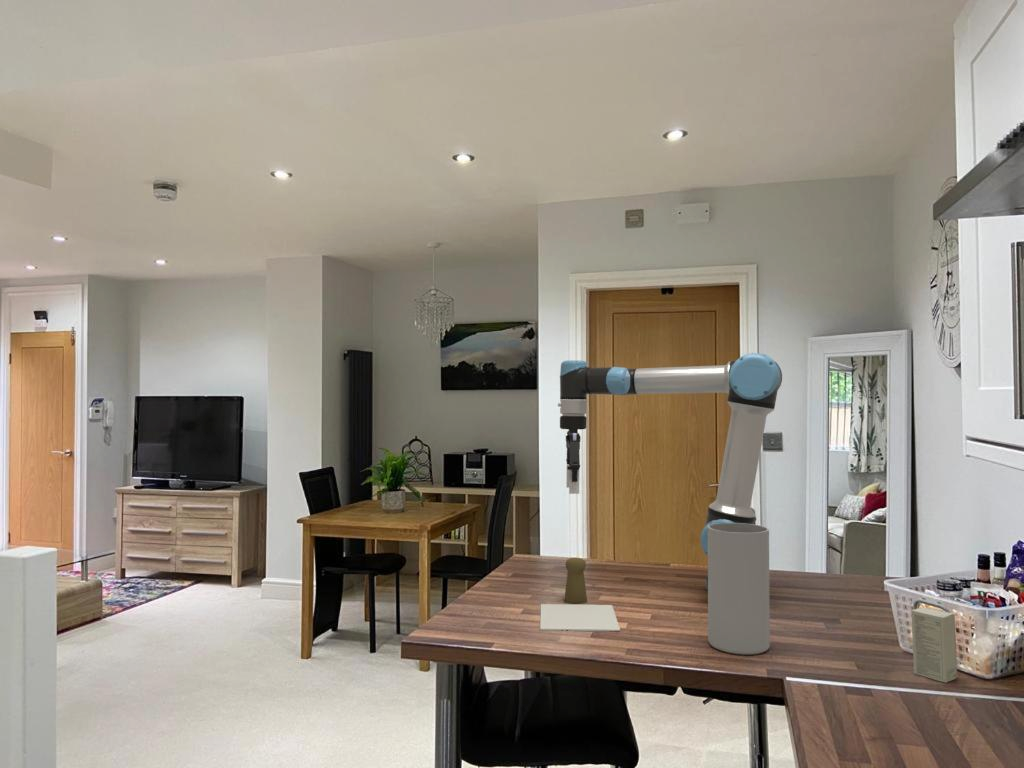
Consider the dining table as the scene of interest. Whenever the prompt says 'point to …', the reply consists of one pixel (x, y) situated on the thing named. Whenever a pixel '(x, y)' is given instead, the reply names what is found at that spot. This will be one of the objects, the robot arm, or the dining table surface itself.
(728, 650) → the cylinder vase
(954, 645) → the skincare box
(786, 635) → the dining table surface
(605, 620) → the felt mat
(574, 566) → the cork
